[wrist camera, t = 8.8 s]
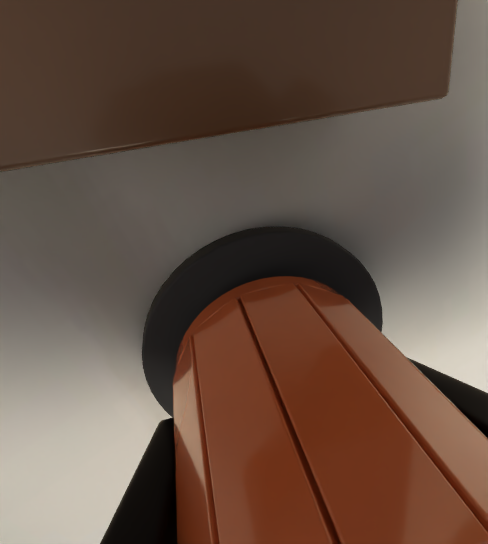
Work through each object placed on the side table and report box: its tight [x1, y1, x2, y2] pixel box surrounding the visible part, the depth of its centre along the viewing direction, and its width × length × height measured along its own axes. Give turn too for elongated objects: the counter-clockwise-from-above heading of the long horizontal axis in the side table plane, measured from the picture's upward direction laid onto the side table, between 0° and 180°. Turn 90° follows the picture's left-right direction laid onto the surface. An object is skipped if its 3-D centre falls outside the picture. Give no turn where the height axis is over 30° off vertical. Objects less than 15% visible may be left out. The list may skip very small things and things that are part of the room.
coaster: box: [142, 227, 382, 417], centre depth 11 cm, size 8×8×1 cm
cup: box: [173, 276, 488, 544], centre depth 7 cm, size 6×6×6 cm
